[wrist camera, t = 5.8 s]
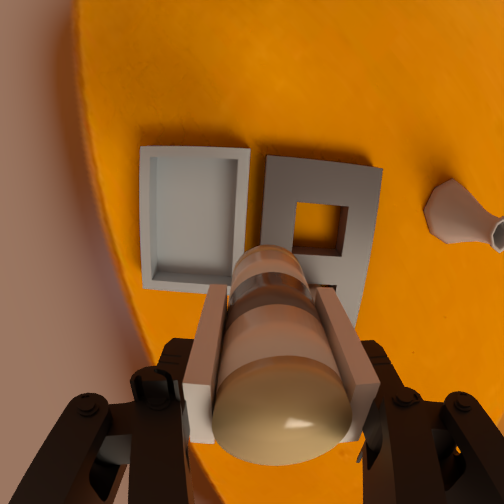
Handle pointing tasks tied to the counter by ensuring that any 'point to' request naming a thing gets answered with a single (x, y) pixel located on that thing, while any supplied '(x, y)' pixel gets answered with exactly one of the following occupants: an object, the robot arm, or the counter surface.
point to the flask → (462, 217)
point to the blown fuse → (276, 367)
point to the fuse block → (350, 225)
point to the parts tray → (192, 215)
